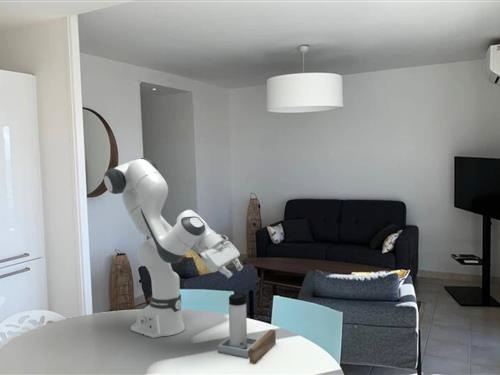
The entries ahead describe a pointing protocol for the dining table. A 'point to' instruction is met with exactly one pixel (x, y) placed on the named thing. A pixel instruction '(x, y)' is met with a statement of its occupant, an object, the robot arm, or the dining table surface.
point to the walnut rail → (262, 346)
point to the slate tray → (233, 351)
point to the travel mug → (238, 320)
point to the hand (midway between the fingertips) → (236, 272)
